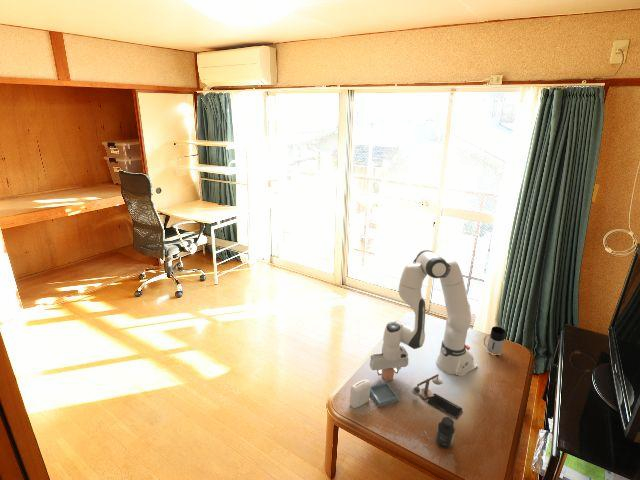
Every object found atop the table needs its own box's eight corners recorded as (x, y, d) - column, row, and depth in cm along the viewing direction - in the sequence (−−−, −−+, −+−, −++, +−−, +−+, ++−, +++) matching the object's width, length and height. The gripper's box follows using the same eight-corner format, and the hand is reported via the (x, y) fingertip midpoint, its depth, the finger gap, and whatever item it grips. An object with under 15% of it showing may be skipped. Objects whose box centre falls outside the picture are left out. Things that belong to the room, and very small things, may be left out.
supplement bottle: (455, 446, 158) (460, 425, 154) (442, 450, 156) (446, 429, 152) (444, 433, 164) (449, 412, 160) (432, 437, 162) (436, 417, 158)
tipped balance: (435, 386, 191) (438, 369, 187) (442, 394, 186) (446, 377, 182) (408, 394, 186) (410, 376, 181) (415, 402, 180) (417, 385, 176)
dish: (386, 385, 190) (387, 381, 190) (398, 401, 181) (398, 397, 180) (367, 390, 187) (368, 386, 186) (378, 407, 177) (379, 403, 176)
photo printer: (364, 395, 184) (366, 375, 179) (370, 401, 180) (372, 381, 176) (348, 404, 178) (349, 383, 174) (353, 410, 175) (355, 389, 171)
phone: (433, 392, 186) (463, 408, 177) (433, 394, 186) (462, 410, 177) (426, 401, 180) (456, 418, 171) (426, 403, 181) (456, 420, 172)
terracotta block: (388, 373, 199) (389, 364, 197) (393, 379, 195) (394, 369, 193) (381, 375, 198) (382, 366, 195) (385, 380, 194) (386, 371, 192)
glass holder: (504, 354, 217) (510, 332, 212) (486, 359, 212) (491, 338, 207) (493, 345, 225) (498, 324, 219) (475, 350, 220) (480, 329, 214)
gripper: (373, 358, 186) (370, 380, 191) (411, 354, 190) (407, 375, 195) (369, 350, 192) (367, 371, 197) (406, 346, 195) (403, 367, 200)
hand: (387, 373), depth 196 cm, fingers open, 8 cm apart
